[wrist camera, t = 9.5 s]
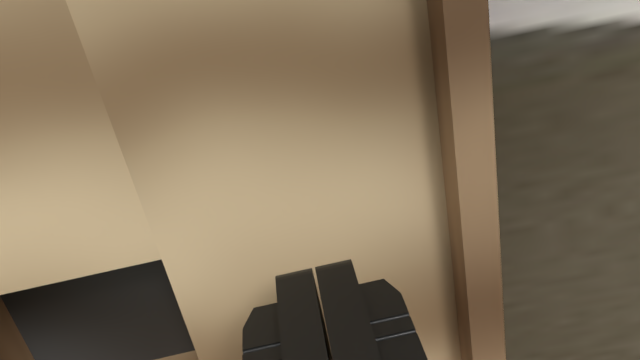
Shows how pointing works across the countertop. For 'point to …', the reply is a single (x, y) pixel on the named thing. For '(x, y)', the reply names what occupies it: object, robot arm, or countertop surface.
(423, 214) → the trap track
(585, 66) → the countertop surface
